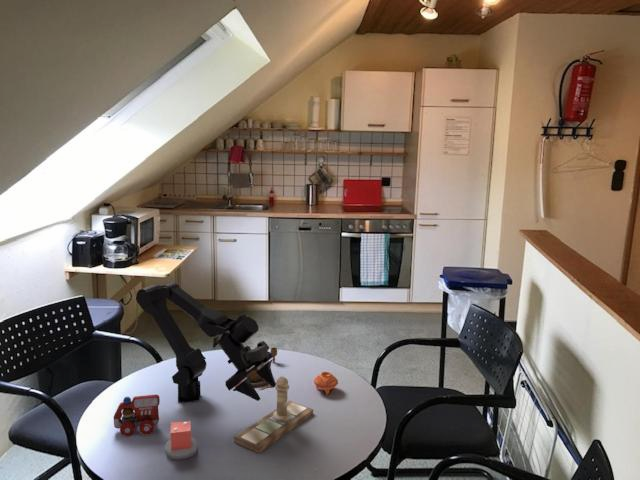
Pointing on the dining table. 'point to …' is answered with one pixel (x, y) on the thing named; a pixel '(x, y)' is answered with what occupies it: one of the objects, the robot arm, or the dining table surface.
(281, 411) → the pawn
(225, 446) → the dining table surface
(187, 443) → the orange cube on disc
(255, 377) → the place setting
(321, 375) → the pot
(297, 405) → the game board
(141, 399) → the toy fire truck
